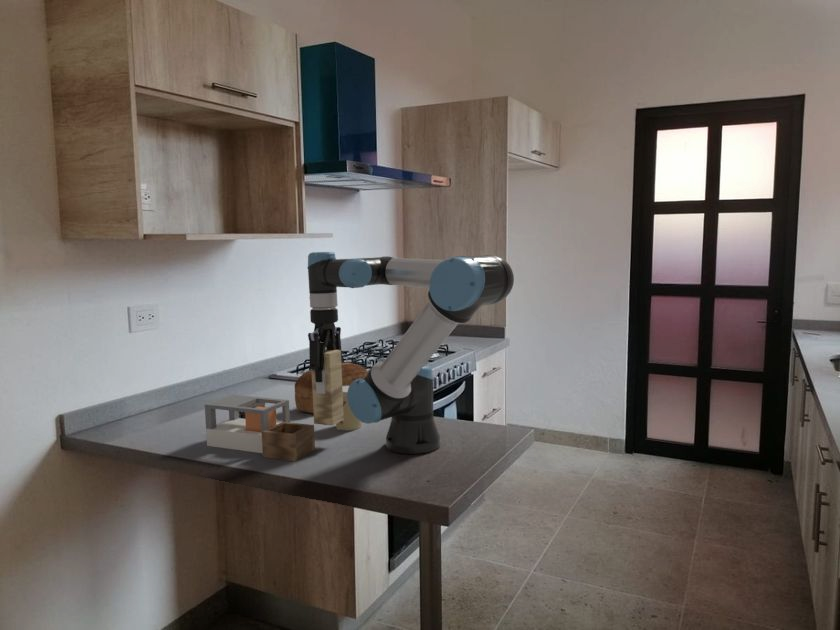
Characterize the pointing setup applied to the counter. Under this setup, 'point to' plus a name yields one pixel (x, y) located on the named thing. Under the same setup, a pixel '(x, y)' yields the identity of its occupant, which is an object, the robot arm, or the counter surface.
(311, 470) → the counter surface
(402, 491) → the counter surface
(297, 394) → the bread
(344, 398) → the coffee cup
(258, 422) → the orange cube
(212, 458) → the counter surface
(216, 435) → the grey frame
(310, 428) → the holder
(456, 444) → the counter surface
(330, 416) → the tan wooden block
